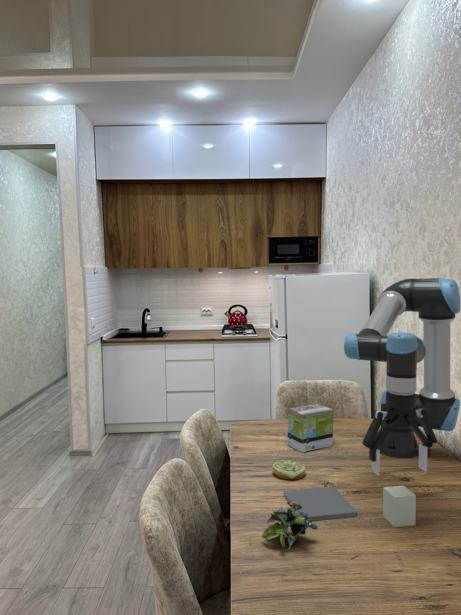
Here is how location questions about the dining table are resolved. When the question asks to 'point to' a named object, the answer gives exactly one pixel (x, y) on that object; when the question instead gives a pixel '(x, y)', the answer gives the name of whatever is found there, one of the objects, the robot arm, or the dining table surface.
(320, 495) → the slate plate
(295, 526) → the passion flower
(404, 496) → the sage block
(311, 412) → the tea box
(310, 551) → the dining table surface
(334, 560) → the dining table surface
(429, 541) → the dining table surface
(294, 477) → the decorated donut
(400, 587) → the dining table surface
